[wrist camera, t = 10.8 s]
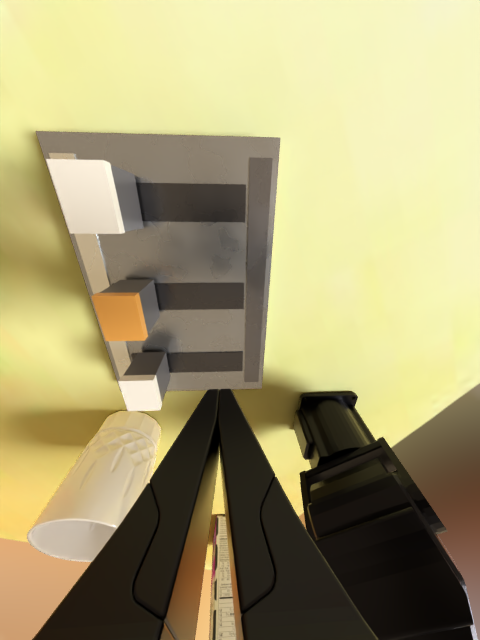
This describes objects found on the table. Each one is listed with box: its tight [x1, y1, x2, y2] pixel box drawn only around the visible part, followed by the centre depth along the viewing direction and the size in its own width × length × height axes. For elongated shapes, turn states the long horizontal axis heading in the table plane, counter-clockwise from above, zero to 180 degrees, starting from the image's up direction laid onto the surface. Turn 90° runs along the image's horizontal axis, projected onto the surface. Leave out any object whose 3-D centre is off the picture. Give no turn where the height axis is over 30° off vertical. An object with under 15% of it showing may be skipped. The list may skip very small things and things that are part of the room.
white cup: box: [27, 411, 161, 562], centre depth 21 cm, size 8×8×10 cm
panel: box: [36, 131, 280, 391], centre depth 18 cm, size 14×20×2 cm
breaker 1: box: [46, 159, 144, 234], centre depth 12 cm, size 2×3×4 cm
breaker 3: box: [118, 352, 170, 411], centre depth 18 cm, size 2×3×4 cm
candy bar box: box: [209, 515, 237, 640], centre depth 32 cm, size 11×5×16 cm, turn 173°
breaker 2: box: [91, 280, 160, 341], centre depth 15 cm, size 2×3×4 cm
